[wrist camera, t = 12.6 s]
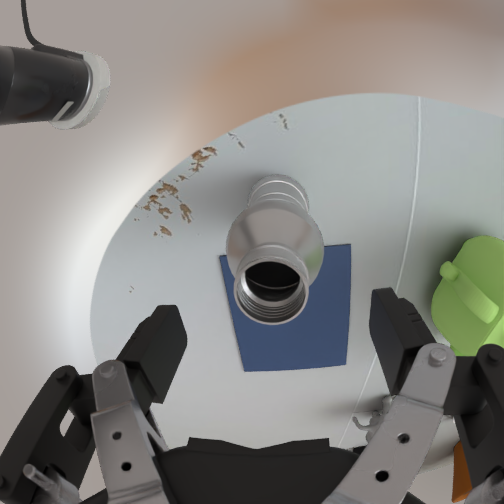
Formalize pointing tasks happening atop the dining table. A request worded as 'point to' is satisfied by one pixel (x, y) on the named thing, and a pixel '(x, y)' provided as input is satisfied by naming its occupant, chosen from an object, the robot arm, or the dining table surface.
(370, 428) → the gray elephant figurine
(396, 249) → the dining table surface
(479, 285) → the teapot
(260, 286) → the silver metal bottle
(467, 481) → the flower pot
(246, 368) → the flat rectangular board
